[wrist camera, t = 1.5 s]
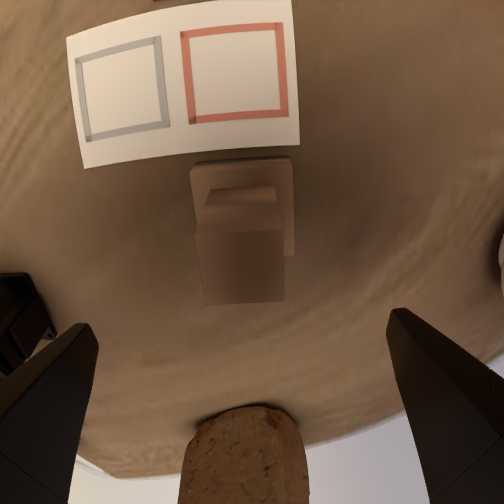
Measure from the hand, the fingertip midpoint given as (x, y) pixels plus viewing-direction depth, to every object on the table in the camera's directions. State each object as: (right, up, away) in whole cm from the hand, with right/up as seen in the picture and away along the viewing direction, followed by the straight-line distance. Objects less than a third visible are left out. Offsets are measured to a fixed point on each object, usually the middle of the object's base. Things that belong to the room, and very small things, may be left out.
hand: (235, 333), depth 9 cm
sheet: (-3, +11, +5) cm, 13 cm away
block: (0, -15, +20) cm, 25 cm away
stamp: (0, +5, +9) cm, 10 cm away
